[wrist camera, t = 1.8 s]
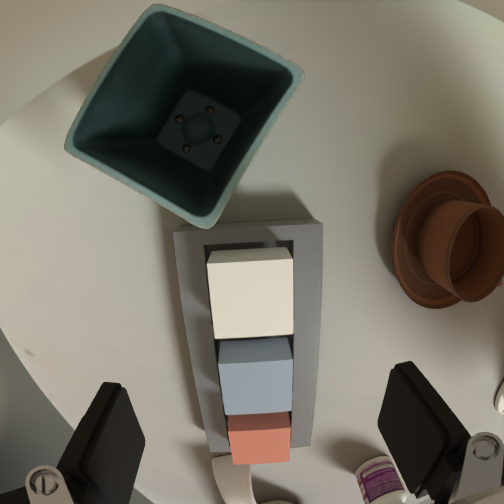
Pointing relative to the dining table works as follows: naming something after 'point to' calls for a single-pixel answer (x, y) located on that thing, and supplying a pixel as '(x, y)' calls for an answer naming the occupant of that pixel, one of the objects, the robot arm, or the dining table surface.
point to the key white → (251, 292)
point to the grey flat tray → (207, 347)
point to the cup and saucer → (448, 242)
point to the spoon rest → (235, 481)
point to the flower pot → (182, 111)
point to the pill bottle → (380, 482)
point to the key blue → (256, 376)
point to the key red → (259, 438)
